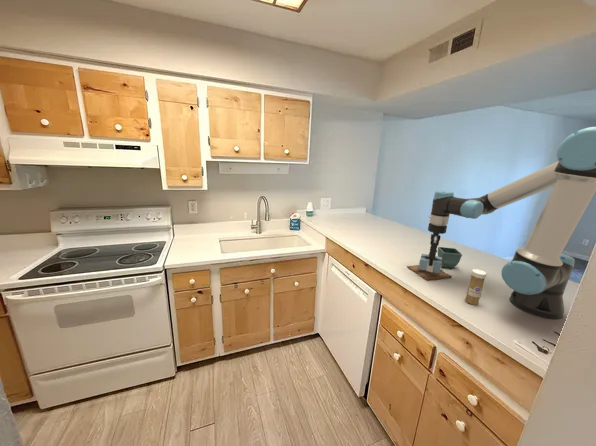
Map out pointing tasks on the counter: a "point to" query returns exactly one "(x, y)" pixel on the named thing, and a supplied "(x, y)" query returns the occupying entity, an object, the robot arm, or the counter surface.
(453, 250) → the flower pot
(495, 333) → the counter surface
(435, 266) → the blue notched block
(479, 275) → the sprinkles bottle
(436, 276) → the post base
